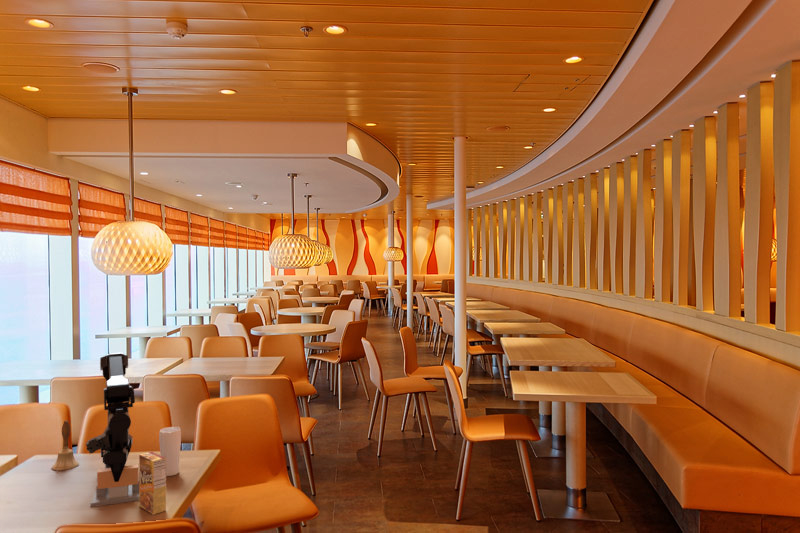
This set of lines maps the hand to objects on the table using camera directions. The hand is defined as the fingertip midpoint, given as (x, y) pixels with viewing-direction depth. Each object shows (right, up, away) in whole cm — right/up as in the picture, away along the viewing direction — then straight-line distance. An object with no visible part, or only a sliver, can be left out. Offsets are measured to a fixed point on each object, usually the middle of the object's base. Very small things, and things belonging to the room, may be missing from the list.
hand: (118, 476), depth 173 cm
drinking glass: (+8, -7, +20) cm, 22 cm away
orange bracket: (-1, -3, +2) cm, 4 cm away
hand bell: (-32, -7, +28) cm, 43 cm away
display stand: (0, -7, +1) cm, 7 cm away
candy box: (+14, -7, -8) cm, 17 cm away
